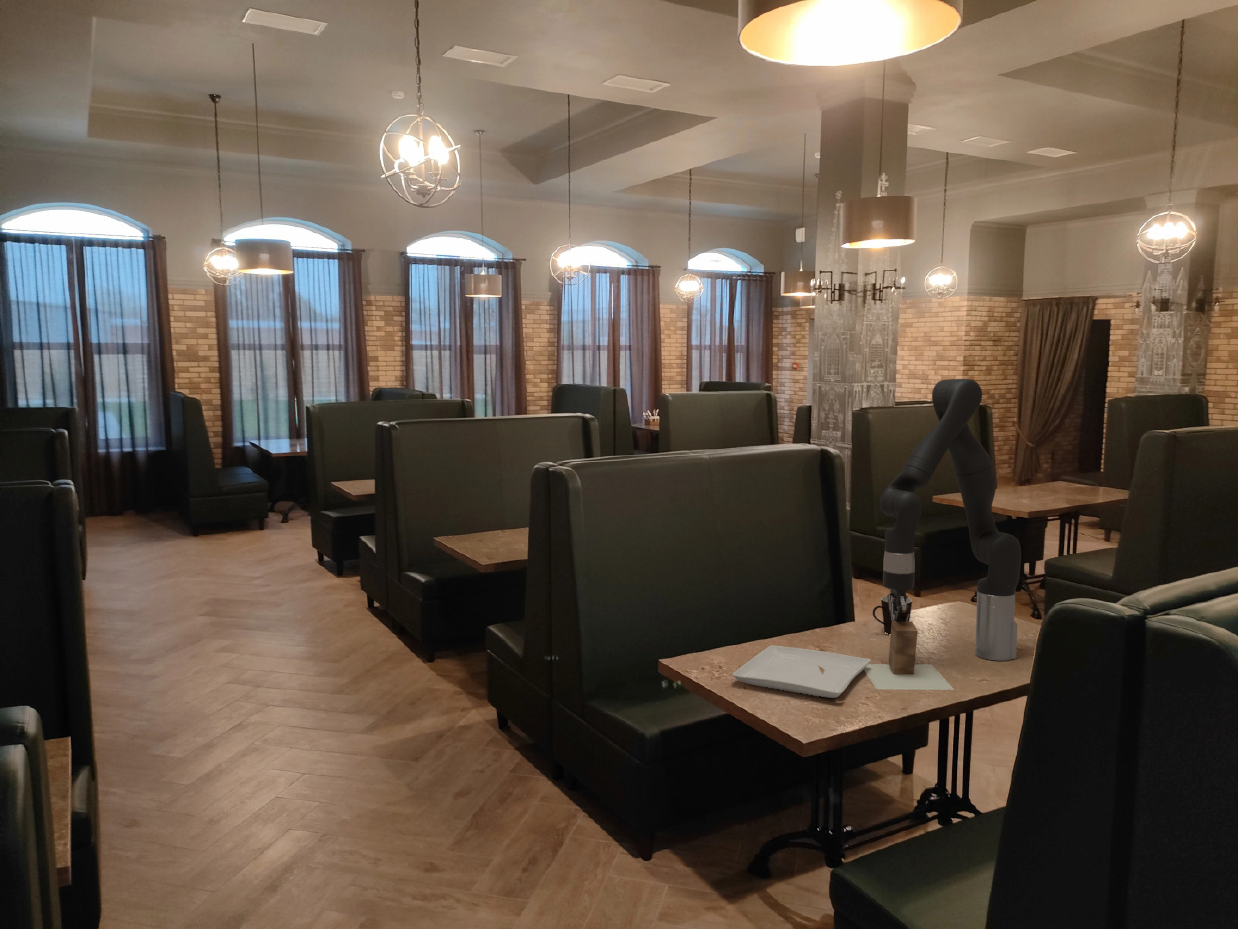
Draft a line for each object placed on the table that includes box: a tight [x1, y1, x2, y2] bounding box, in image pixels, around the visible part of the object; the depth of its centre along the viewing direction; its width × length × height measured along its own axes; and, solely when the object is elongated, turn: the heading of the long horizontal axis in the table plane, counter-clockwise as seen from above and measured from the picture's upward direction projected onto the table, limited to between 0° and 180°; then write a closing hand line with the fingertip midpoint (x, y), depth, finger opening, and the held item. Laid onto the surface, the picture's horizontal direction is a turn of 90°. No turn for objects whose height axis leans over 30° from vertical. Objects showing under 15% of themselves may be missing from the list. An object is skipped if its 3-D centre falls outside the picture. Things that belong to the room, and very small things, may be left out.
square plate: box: [731, 644, 872, 699], centre depth 215 cm, size 27×27×4 cm
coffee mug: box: [872, 595, 913, 634], centre depth 250 cm, size 12×9×10 cm
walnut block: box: [888, 620, 918, 674], centre depth 216 cm, size 5×5×12 cm
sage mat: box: [863, 663, 955, 691], centre depth 214 cm, size 18×18×1 cm
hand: (897, 636), depth 220 cm, fingers closed
